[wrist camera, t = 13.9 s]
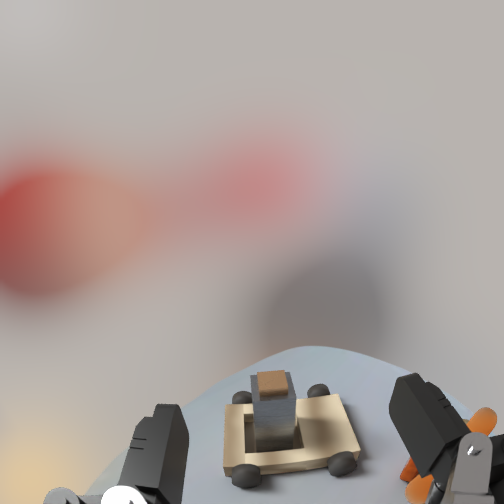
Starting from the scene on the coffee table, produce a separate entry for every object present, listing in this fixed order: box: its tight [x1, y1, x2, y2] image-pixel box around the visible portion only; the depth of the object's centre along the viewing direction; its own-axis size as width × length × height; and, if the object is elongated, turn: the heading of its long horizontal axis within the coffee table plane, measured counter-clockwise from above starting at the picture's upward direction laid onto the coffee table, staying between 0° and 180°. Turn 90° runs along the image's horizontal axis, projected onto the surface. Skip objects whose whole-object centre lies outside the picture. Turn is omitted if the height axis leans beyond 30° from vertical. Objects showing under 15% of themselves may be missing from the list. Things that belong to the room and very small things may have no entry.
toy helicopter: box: [400, 408, 497, 504], centre depth 14 cm, size 8×21×14 cm, turn 138°
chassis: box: [223, 384, 361, 488], centre depth 32 cm, size 16×15×3 cm
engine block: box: [250, 370, 296, 453], centre depth 30 cm, size 4×4×11 cm
